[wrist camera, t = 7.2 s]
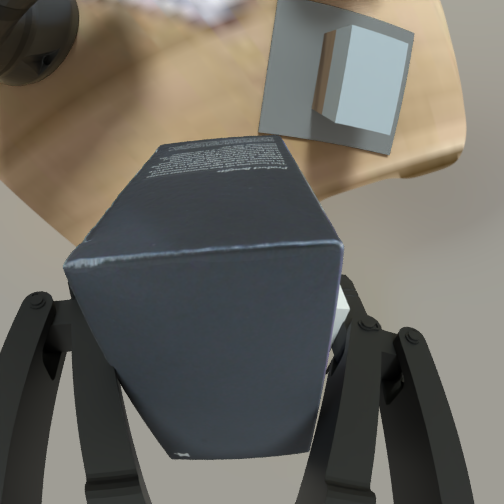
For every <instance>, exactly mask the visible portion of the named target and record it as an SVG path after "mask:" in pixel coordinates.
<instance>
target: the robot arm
mask: <svg viewBox="0 0 504 504" xmlns="http://www.w3.org/2000/svg"><path fill="white" fill-rule="evenodd" d="M78 21H79V12H78V6H77V2H76V0H0V83H4V84H7V85H11V86H21V85H26V84H31V83H35V82H37V81H40V80H42V79H44V78H45V77H47V76H48V75H50V74H51V73H52V72H53V71H54V70H55V69H56V68H57V67H58V66H59V65H60V64H61V63H62V61H63V60H64V59H65V57H66V56H67V54H68V52H69V51H70V49H71V47H72V44H73V42H74V39H75V36H76V33H77V29H78ZM68 285H69V290H70V294H71V299H70V300H64V301H53V299H52V296H51V295H50V294H48V293H47V292H43V291H41V292H34V293H32V294H30V295H28V296H27V297H26V298H25V299H24V301H23V302H22V304H21V307H20V309H19V311H18V313H17V315H16V317H15V320H14V322H13V324H12V326H11V328H10V331H9V333H8V335H7V338H6V340H5V342H4V345H3V347H2V350H1V352H0V504H41V502H42V489H43V478H44V468H45V460H46V451H47V445H48V438H49V431H50V426H51V420H52V415H53V410H54V405H55V400H56V394H57V390H58V386H59V381H60V377H61V373H62V369H63V365H64V361H65V357H66V353H67V352H68V351H72V369H73V384H74V396H75V407H76V415H77V424H78V431H79V438H80V445H81V451H82V457H83V462H84V468H85V473H86V480H87V482H86V484H85V495H86V500H87V504H152V503H151V500H150V497H149V495H148V491H147V489H146V485H145V482H144V479H143V476H142V472H141V469H140V465H139V462H138V458H137V455H136V451H135V447H134V444H133V440H132V436H131V432H130V428H129V423H128V419H127V415H126V410H125V405H124V401H123V396H122V391H121V386H120V382H119V381H118V379H117V377H116V374H115V370H114V367H113V366H111V365H109V363H108V362H107V360H106V358H105V356H104V354H103V352H102V350H101V348H100V347H99V345H98V343H97V341H96V339H95V337H94V335H93V333H92V331H91V329H90V327H89V325H88V323H87V321H86V319H85V317H84V315H83V313H82V311H81V309H80V306H79V304H78V302H77V300H76V297H75V295H74V293H73V291H72V289H71V287H70V284H69V282H68ZM355 290H356V289H355V287H354V285H353V283H352V281H351V280H350V279H349V278H348V277H347V276H346V275H342V274H341V279H340V287H339V295H338V302H337V308H336V315H335V321H334V327H333V333H332V339H331V345H330V350H331V348H332V350H333V353H334V357H333V359H332V360H331V363H330V365H329V366H328V368H327V370H326V373H325V374H327V373H328V372H329V373H328V378H327V383H326V388H325V392H324V397H323V401H322V406H321V410H320V415H319V419H318V423H317V427H316V431H315V435H314V439H313V443H312V447H311V451H310V455H309V458H308V462H307V466H306V469H305V473H304V476H303V480H302V483H301V487H300V490H299V494H298V497H297V500H296V502H295V504H376V496H375V493H373V492H372V491H371V490H370V482H371V475H372V468H373V461H374V453H375V444H376V435H377V425H378V412H379V408H380V413H381V418H382V424H383V429H384V436H385V442H386V448H387V455H388V461H389V468H390V476H391V483H392V492H393V500H394V504H474V500H473V494H472V490H471V485H470V480H469V476H468V471H467V467H466V463H465V459H464V455H463V452H462V448H461V444H460V441H459V437H458V434H457V430H456V427H455V423H454V420H453V416H452V413H451V410H450V407H449V404H448V401H447V398H446V395H445V392H444V389H443V386H442V383H441V380H440V377H439V375H438V372H437V369H436V366H435V364H434V361H433V358H432V356H431V353H430V351H429V348H428V345H427V343H426V340H425V338H424V337H423V335H422V334H421V333H420V332H419V331H417V330H416V329H414V328H410V327H403V328H401V329H400V331H399V332H398V334H395V333H391V332H388V331H384V330H382V329H381V326H380V324H379V323H378V321H377V320H375V319H374V318H373V317H370V316H368V315H367V313H366V311H365V309H364V307H363V304H362V302H361V300H360V298H359V297H358V293H357V291H355ZM329 352H330V351H329Z"/></svg>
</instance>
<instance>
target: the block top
mask: <svg viewBox="0 0 504 504" xmlns="http://www.w3.org/2000/svg"><path fill="white" fill-rule="evenodd" d="M407 49H408V43H405V42H403V41H400V40H397V39H395V38H392V37H389V36H386V35H383V34H380V33H377V32H374V31H371V30H368V29H365V28H361V27H358V26H355V25H350V26H347V27H343V28H340V29H337V30H336V36H335V42H334V48H333V54H332V60H331V66H330V72H329V78H328V83H327V89H326V95H325V100H324V106H323V111H322V115H323V116H325V117H327V118H328V119H330V120H331V121H333V122H335V123H339V124H344V125H348V126H353V127H357V128H362V129H366V130H370V131H375V132H379V133H383V134H387V135H390V133H391V129H392V125H393V121H394V116H395V112H396V107H397V102H398V98H399V93H400V88H401V83H402V78H403V72H404V67H405V61H406V55H407Z"/></svg>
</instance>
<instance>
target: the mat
mask: <svg viewBox="0 0 504 504" xmlns="http://www.w3.org/2000/svg"><path fill="white" fill-rule="evenodd" d="M350 25H355V26H358V27H361V28H365V29H368V30H371V31H374V32H377V33H380V34H383V35H386V36H389V37H392V38H395V39H397V40H400V41H403V42H405V43H408V49H407V55H406V61H405V67H404V72H403V78H402V83H401V88H400V93H399V98H398V102H397V107H396V112H395V116H394V121H393V125H392V129H391V133H390V135H387V134H383V133H379V132H375V131H370V130H366V129H362V128H357V127H353V126H348V125H344V124H339V123H335V122H333V121H331V120H330V119H328V118H327V117H325V116H323V115H322V114H320V113H318V112H317V111H315V110H313V109H312V103H313V98H314V92H315V86H316V80H317V75H318V69H319V63H320V57H321V51H322V44H323V38H324V33H327V32H330V31H333V30H337V29H340V28H343V27H347V26H350ZM413 39H414V33H412V32H410V31H407V30H405V29H402V28H400V27H397V26H394V25H392V24H389V23H386V22H383V21H380V20H378V19H375V18H372V17H368V16H365V15H362V14H359V13H355V12H352V11H349V10H345V9H341V8H338V7H334V6H330V5H326V4H322V3H317V2H313V1H308V0H278V2H277V9H276V15H275V22H274V28H273V35H272V41H271V48H270V55H269V62H268V68H267V75H266V82H265V89H264V96H263V102H262V109H261V116H260V123H259V130H258V132H261V133H269V134H277V135H284V136H291V137H297V138H304V139H310V140H316V141H322V142H328V143H333V144H339V145H344V146H349V147H354V148H359V149H364V150H368V151H373V152H378V153H382V154H386V155H390V151H391V147H392V143H393V139H394V135H395V131H396V126H397V122H398V118H399V113H400V109H401V104H402V99H403V95H404V90H405V85H406V80H407V74H408V69H409V63H410V58H411V52H412V45H413Z"/></svg>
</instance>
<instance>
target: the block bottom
mask: <svg viewBox="0 0 504 504" xmlns="http://www.w3.org/2000/svg"><path fill="white" fill-rule="evenodd" d="M335 36H336V30H333V31H330V32H327V33H324V38H323V44H322V51H321V57H320V63H319V69H318V75H317V80H316V86H315V92H314V98H313V103H312V109H313V110H315V111H317V112H318V113H320V114H322V111H323V106H324V100H325V95H326V89H327V83H328V78H329V72H330V66H331V60H332V54H333V48H334V42H335Z"/></svg>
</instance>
